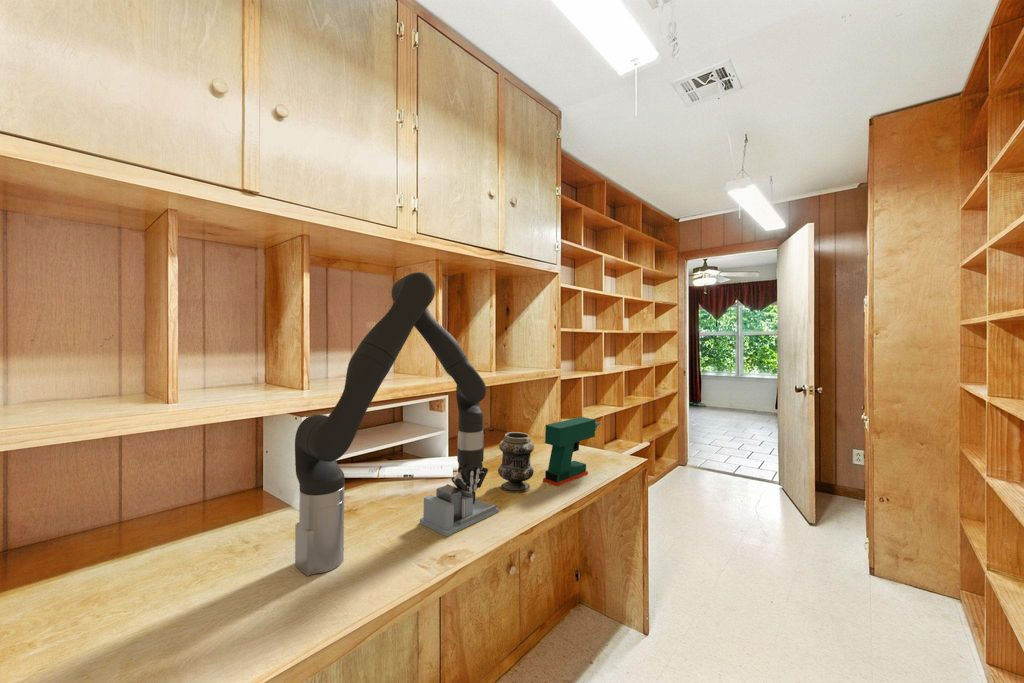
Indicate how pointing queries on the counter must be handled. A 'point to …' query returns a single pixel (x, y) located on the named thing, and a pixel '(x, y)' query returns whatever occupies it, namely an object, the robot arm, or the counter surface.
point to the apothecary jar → (516, 462)
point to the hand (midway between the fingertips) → (470, 504)
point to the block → (452, 499)
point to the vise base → (452, 515)
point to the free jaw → (466, 503)
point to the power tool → (567, 448)
